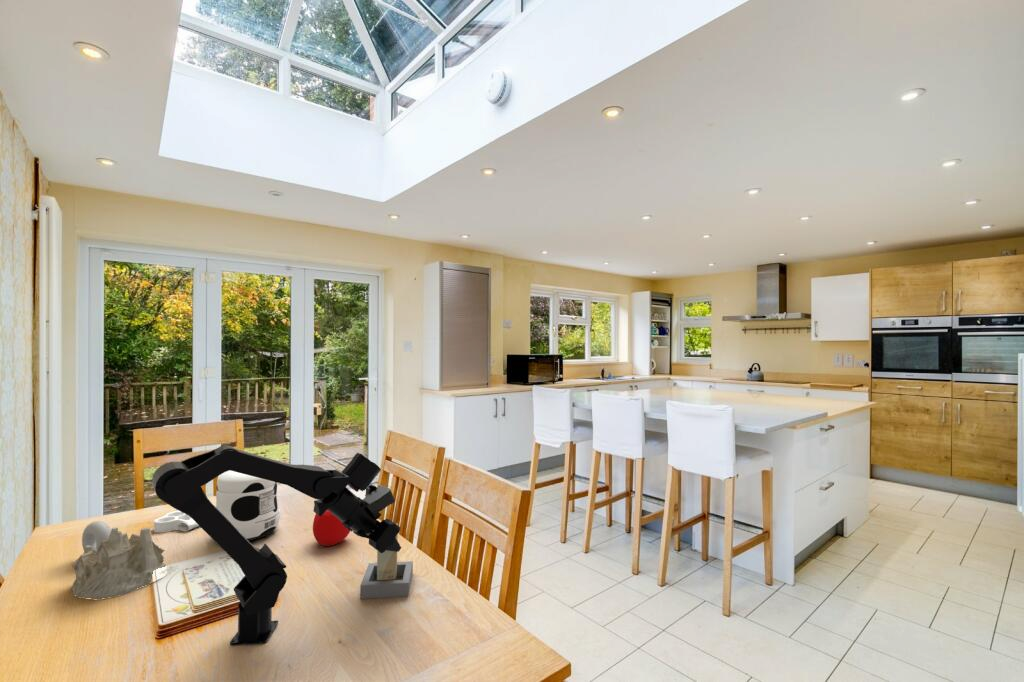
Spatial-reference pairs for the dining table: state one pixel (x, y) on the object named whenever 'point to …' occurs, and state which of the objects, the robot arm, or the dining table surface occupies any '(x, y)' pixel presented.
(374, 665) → the dining table surface
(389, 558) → the box
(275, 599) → the robot arm
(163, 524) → the white dimpled tray
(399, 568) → the block
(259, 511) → the milk container
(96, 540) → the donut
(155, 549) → the grey castle model
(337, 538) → the tomato
